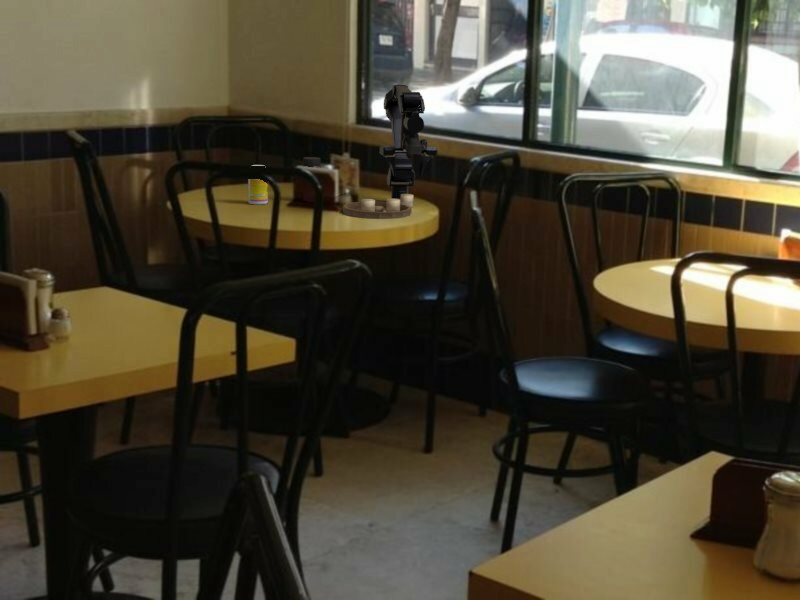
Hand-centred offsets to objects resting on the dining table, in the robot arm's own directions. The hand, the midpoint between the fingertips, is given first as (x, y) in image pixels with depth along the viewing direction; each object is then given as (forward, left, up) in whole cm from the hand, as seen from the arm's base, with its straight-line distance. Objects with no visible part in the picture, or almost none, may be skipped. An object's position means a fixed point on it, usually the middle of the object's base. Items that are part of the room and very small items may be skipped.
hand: (407, 176), depth 433 cm
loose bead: (0, 0, -11) cm, 11 cm away
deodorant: (-19, -29, -11) cm, 37 cm away
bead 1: (+15, -17, -10) cm, 25 cm away
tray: (+11, -13, -11) cm, 20 cm away
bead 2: (+15, -9, -10) cm, 20 cm away
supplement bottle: (-16, -48, -12) cm, 52 cm away
